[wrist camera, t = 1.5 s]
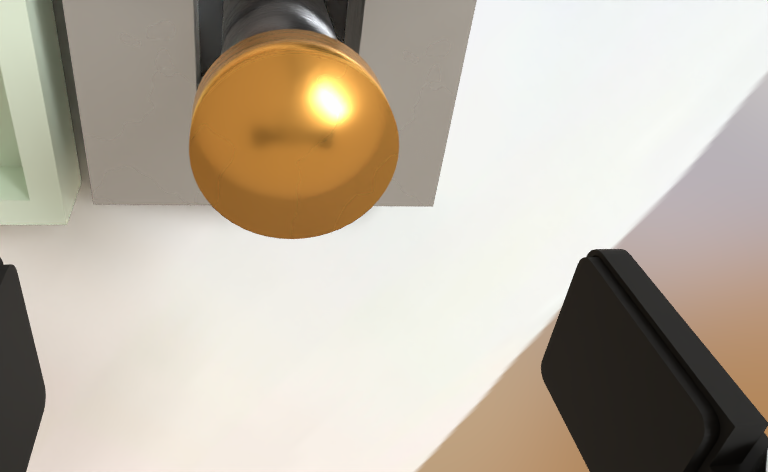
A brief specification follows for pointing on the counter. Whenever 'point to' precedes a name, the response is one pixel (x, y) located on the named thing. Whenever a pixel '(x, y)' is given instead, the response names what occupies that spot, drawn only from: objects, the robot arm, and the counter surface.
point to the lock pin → (290, 123)
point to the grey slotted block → (183, 75)
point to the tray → (34, 119)
